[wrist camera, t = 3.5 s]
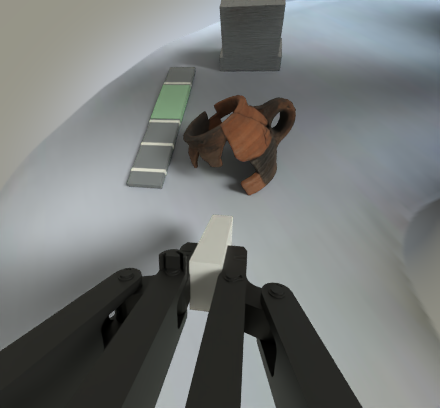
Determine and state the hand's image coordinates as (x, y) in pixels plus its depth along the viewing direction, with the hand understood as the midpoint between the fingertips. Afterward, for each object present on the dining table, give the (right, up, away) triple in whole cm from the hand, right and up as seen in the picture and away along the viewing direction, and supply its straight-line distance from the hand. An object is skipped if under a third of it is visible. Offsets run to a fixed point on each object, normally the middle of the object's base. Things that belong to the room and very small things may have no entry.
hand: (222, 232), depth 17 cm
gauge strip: (-7, +14, +14) cm, 21 cm away
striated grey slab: (+5, +24, +18) cm, 31 cm away
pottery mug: (+3, +8, +10) cm, 13 cm away
